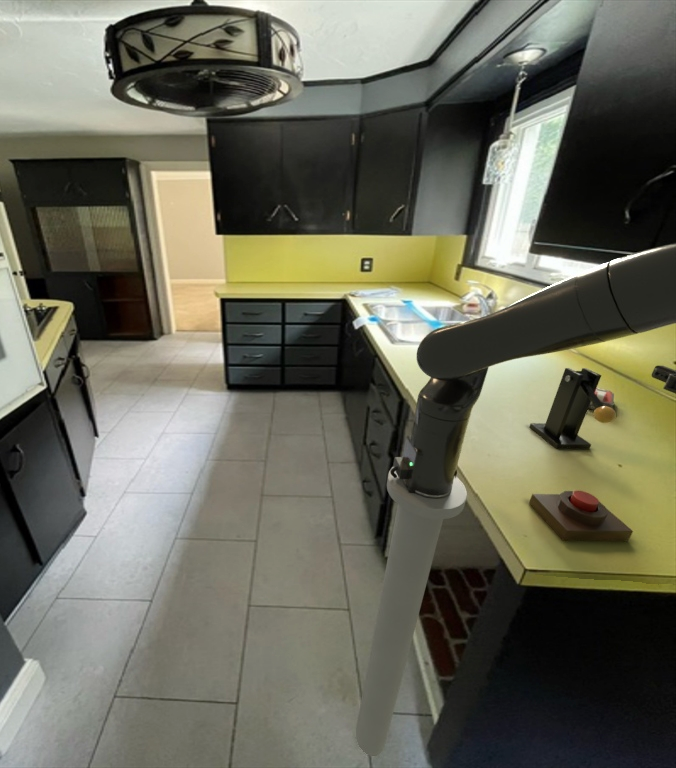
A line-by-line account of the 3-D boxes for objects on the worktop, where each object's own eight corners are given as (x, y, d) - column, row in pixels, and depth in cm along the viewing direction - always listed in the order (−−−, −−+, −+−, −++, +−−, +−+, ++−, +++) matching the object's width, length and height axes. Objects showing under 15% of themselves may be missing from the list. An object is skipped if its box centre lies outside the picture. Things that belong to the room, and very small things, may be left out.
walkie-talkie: (575, 391, 116) (568, 413, 102) (580, 379, 114) (574, 399, 100) (611, 400, 110) (609, 424, 97) (617, 386, 109) (615, 409, 95)
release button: (580, 512, 62) (583, 504, 61) (564, 497, 65) (567, 490, 64) (601, 512, 62) (604, 504, 61) (584, 498, 65) (588, 490, 64)
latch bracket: (589, 448, 86) (619, 380, 79) (556, 448, 86) (582, 379, 79) (559, 427, 95) (583, 364, 88) (529, 427, 95) (550, 363, 88)
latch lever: (611, 426, 78) (624, 417, 75) (595, 426, 78) (607, 416, 75) (579, 379, 86) (590, 369, 84) (564, 378, 86) (574, 369, 84)
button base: (563, 540, 61) (571, 522, 59) (528, 502, 69) (535, 486, 67) (628, 540, 61) (638, 522, 59) (586, 503, 69) (593, 486, 68)
